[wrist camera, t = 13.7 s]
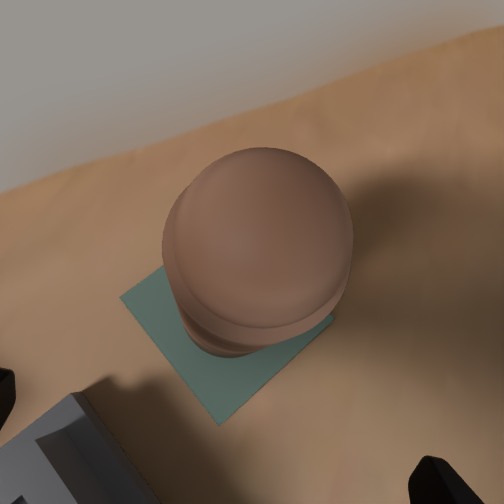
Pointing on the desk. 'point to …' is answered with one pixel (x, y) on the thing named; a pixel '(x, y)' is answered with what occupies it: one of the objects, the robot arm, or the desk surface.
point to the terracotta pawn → (257, 250)
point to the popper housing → (69, 461)
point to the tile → (201, 363)
